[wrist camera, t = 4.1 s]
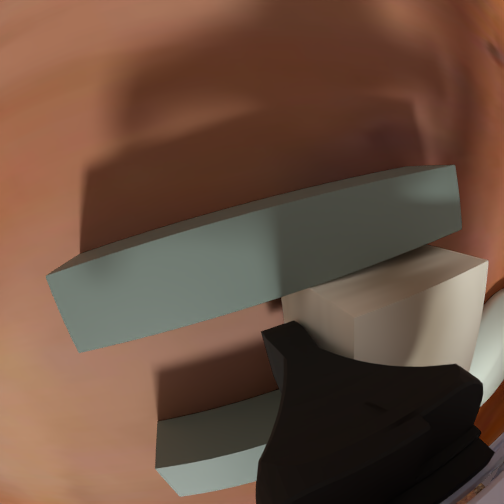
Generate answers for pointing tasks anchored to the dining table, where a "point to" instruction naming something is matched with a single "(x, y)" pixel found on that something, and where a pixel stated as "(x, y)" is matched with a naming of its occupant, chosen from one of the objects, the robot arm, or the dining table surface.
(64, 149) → the dining table surface
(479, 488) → the book
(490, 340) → the pale green oval piece
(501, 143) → the dining table surface
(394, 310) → the cream block
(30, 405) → the dining table surface
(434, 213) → the slot holder
